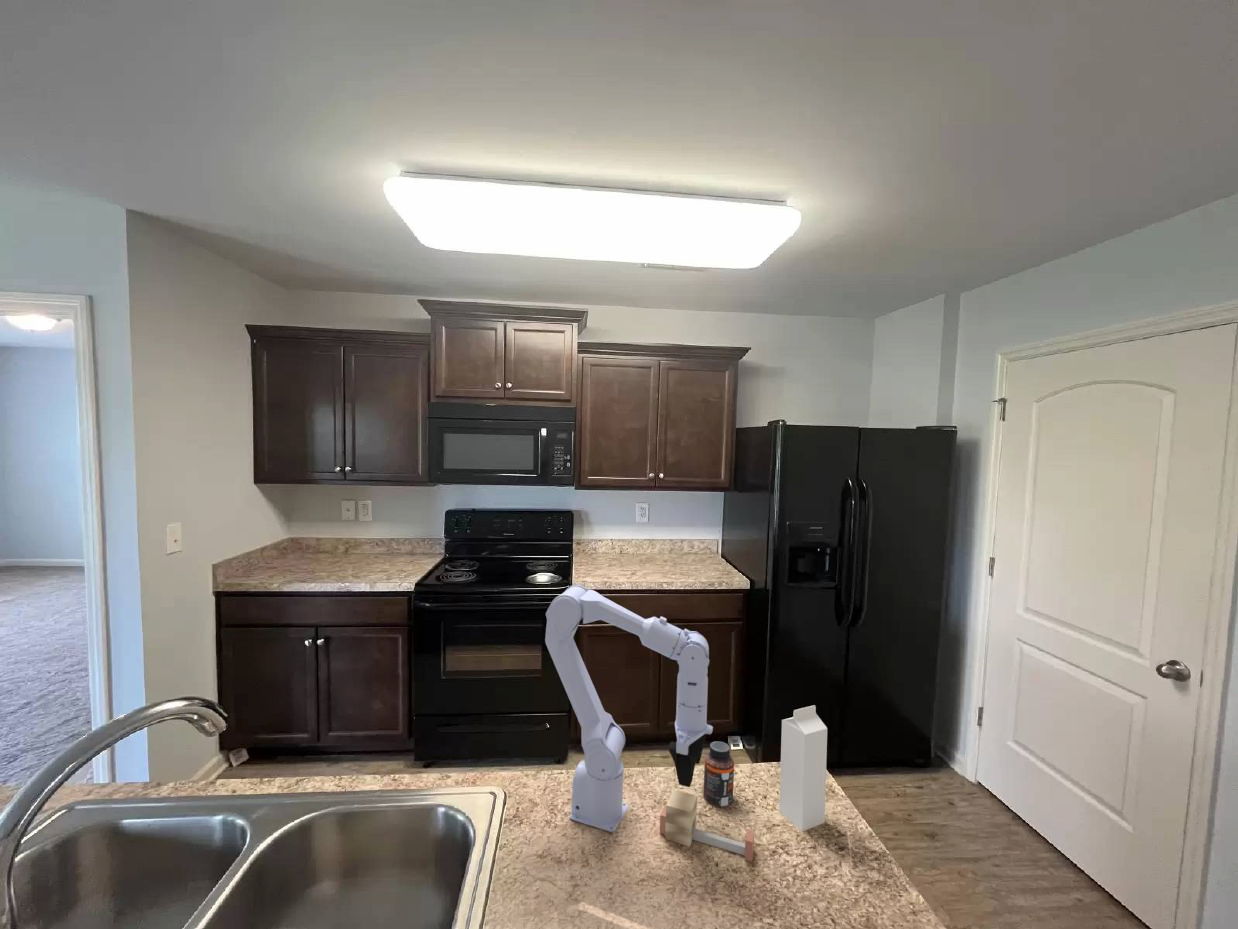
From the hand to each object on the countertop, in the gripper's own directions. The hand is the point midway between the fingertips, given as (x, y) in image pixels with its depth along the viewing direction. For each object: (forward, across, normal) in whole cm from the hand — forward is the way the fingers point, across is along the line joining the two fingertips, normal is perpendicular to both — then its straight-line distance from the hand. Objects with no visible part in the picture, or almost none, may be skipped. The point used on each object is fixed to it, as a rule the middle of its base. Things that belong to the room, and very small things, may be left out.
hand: (689, 773), depth 93 cm
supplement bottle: (+11, +10, -4) cm, 15 cm away
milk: (+11, +11, -20) cm, 25 cm away
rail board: (+10, -3, -4) cm, 12 cm away
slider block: (+10, -3, +1) cm, 10 cm away
